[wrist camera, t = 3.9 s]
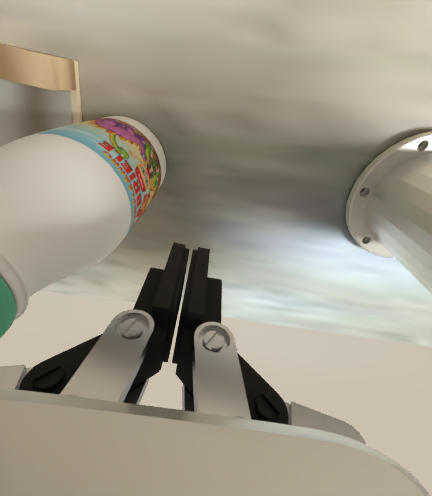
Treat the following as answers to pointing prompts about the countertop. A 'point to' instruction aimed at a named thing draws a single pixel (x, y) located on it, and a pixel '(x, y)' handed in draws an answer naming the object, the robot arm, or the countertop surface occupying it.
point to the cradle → (36, 93)
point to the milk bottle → (70, 202)
